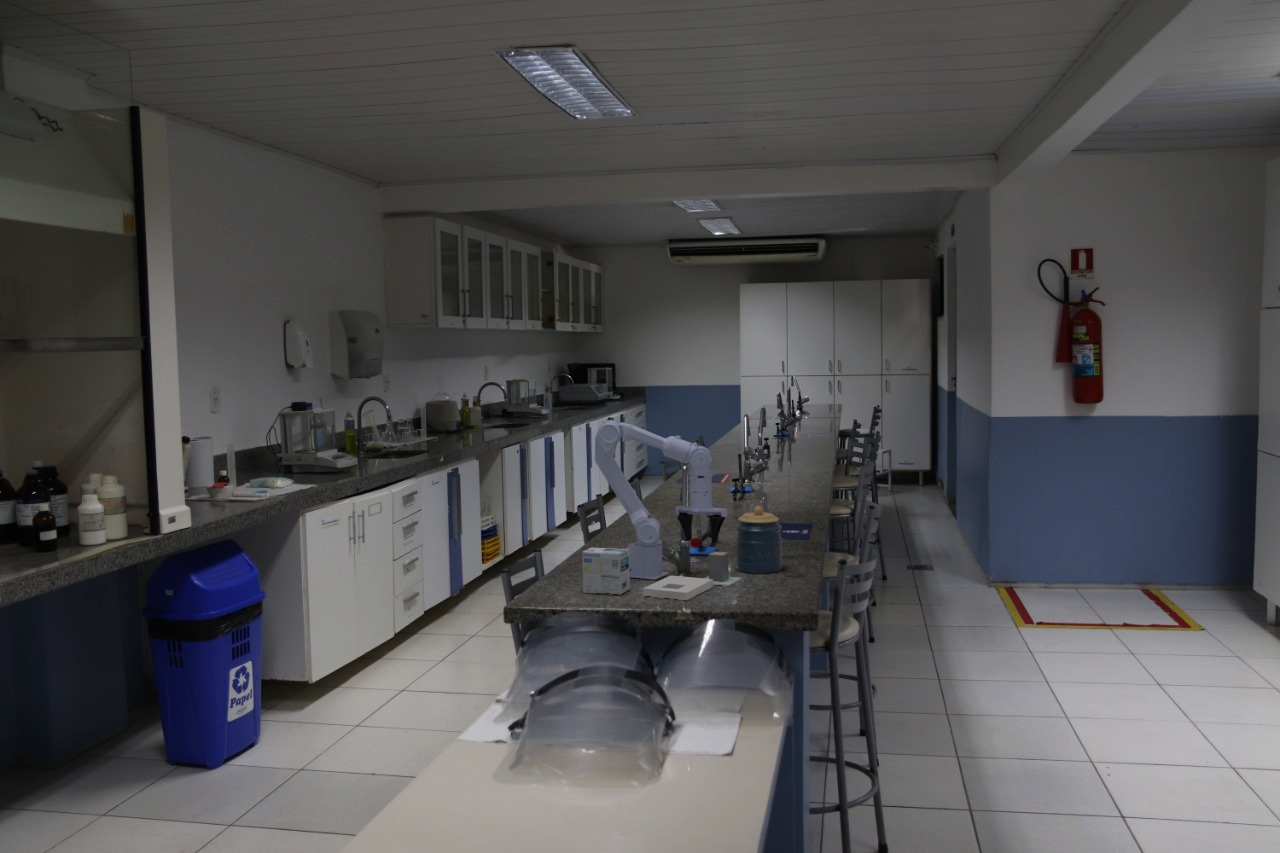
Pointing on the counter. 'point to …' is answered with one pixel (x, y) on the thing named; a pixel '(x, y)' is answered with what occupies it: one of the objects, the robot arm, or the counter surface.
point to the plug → (719, 566)
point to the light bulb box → (606, 570)
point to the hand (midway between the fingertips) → (701, 541)
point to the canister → (758, 543)
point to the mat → (727, 582)
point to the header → (678, 587)
